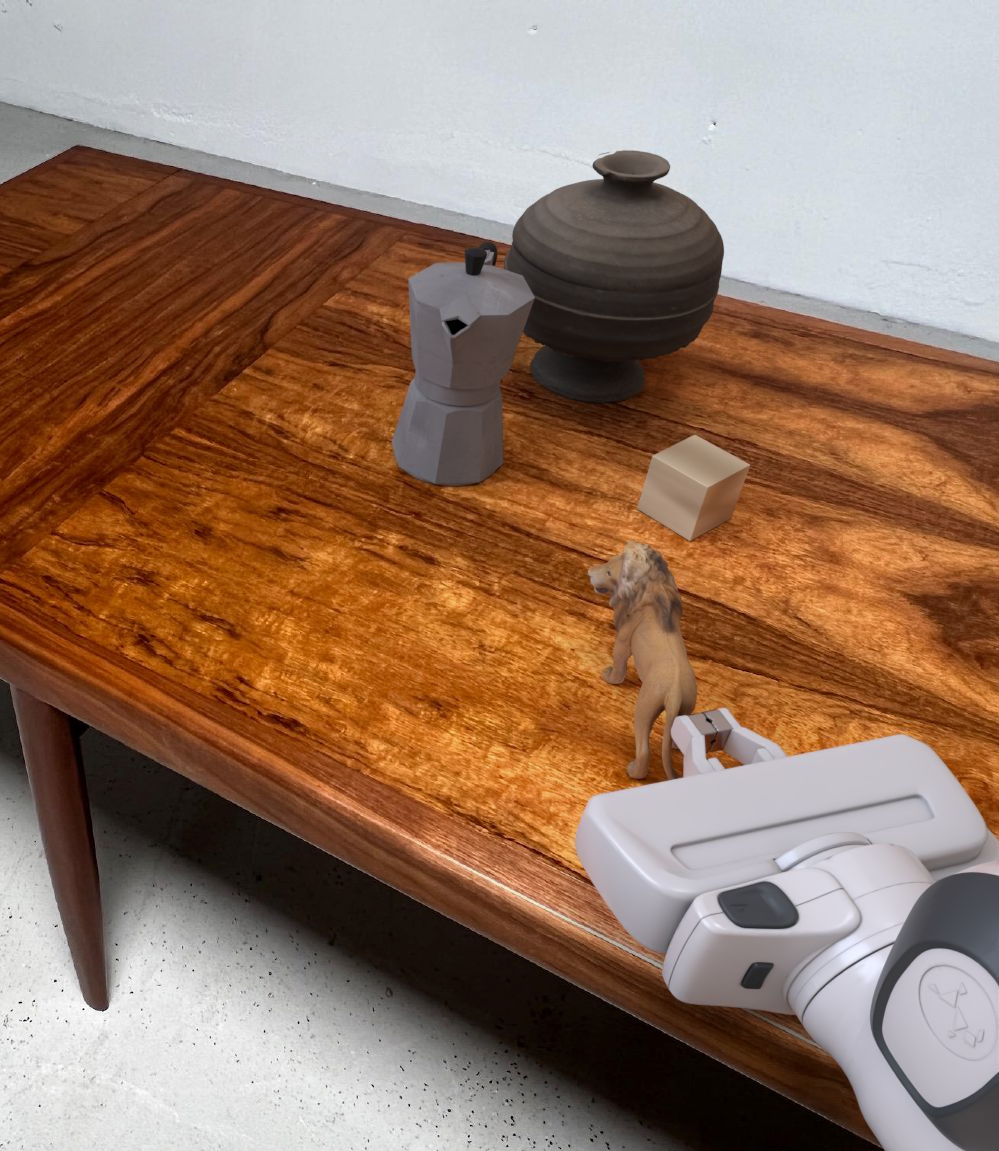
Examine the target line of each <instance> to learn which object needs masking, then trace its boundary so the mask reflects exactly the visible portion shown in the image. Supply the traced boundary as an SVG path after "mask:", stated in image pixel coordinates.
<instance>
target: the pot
mask: <svg viewBox="0 0 999 1151" xmlns="http://www.w3.org/2000/svg"><path fill="white" fill-rule="evenodd" d="M609 153H610V151H607V152H603V153H600V154H598V156H601V155H604V156H602V157H599V158H597V159H595V160H594V161H593V162H592V169H593V170H594V171H595V172H596V173H597V174H598V175H599V176H602V178H598V179H595V178H594V179H587V180H583V181H578V182H575V183H570V184H567V185H563V186H560V187H558V188H555V189H554V190H552V191H551V192H549V193H547V194H545V195H543V196H542V197H540V198H538V199H537V200H536V201H535V202H534V203H532V204H530V206H528V207H527V208H526V209H525V211H524V212H523V213H522V215H520V217H519V218H518V219H517V220H516V222H515V224H514V227H513V230H512V234H511V236H512V237H511V238H512V239H511V240H512V241H511V245H510V249H508V251H506V254H505V256H504V260H503V269H505V270H507V271H510V272H513V273H516V274H519V275H522V276H523V277H524V279H525V281H526V282H527V284H528V286H529V288H530V290H531V291H532V293H533V295H534V297H535V300H534V302H533V304H532V307H531V310H530V313H529V316H528V319H527V321H526V324H525V327H524V330H523V333H522V334H524V336H525V337H527V338H529V339H532V341H534V343H535V344H540V345H542V347H540V348H539V350H538V351H537V352H536V353H535V354H534V356H532V359H531V361H530V375H531V376H532V378H533V380H534V381H537V383H538V384H539V386H542V387H543V388H545V389H546V390H548V391H550V392H551V393H554V394H557V395H558V396H561V397H564V398H566V399H570V400H572V401H573V400H576V401H579V402H583V403H584V402H585V403H596V404H607V403H617V402H621V401H626V400H628V399H631V398H633V397H635V396H637V395H638V394H640V393H641V392H642V391H643V390H644V388H645V381H646V373H645V371H644V368H643V365H642V364H641V363H640V362H639V361H644V360H649V359H656V358H660V357H662V356H667V355H671V354H672V353H675V352H677V351H680V349H683V348H687V347H688V346H689V345H690V344H691V343H693V342H695V341H696V340H697V339H698V338H699V336H700V334H701V333H702V331H703V328H704V326H705V325H706V323H707V322H709V320H710V318H711V317H712V315H713V312H714V305H715V300H716V298H717V297H718V294H719V288H720V282H721V281H720V280H721V276H722V271H723V260H724V257H725V247H724V239H723V236H722V234H721V233H720V231H719V229H718V227H717V225H716V223H715V222H714V220H713V219H711V217H710V216H709V214H708V213H707V212H706V211H705V210H704V209H703V208H702V207H701V206H699V205H698V204H697V202H695V201H694V200H693V199H692V198H691V197H689V196H687V195H685V194H683V193H682V192H679V191H677V190H675V189H674V188H671V187H669V186H667V185H665V184H661V183H657V182H655V181H657V180H659V179H662V178H664V177H666V176H667V175H669V172H670V170H671V164H670V163H669V161H668V159H666V158H664V157H663V156H661V155H658V154H656V153H652V152H647V151H641V150H632V149H631V150H629V149H627V150H626V149H623V150H616V151H615V152H614V153H611V154H609ZM638 360H639V361H638Z"/></svg>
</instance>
